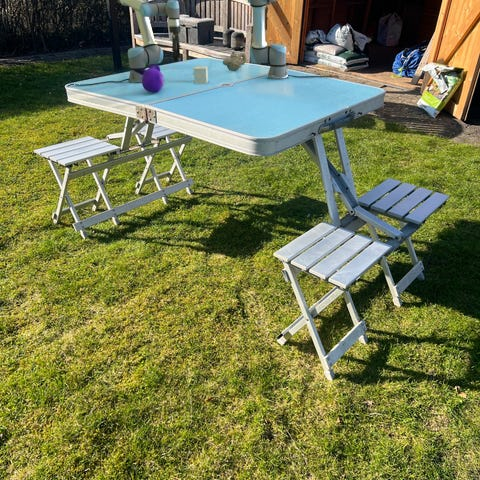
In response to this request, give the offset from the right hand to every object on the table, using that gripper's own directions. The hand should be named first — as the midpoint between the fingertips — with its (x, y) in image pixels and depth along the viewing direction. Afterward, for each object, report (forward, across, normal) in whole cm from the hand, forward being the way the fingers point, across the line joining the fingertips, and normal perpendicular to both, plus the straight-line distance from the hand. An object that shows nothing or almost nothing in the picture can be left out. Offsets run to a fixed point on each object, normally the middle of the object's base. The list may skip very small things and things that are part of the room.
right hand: (265, 29), depth 360 cm
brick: (+30, -55, +46) cm, 78 cm away
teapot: (+30, -8, +25) cm, 40 cm away
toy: (+30, -82, +78) cm, 117 cm away
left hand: (+13, -62, +62) cm, 89 cm away
